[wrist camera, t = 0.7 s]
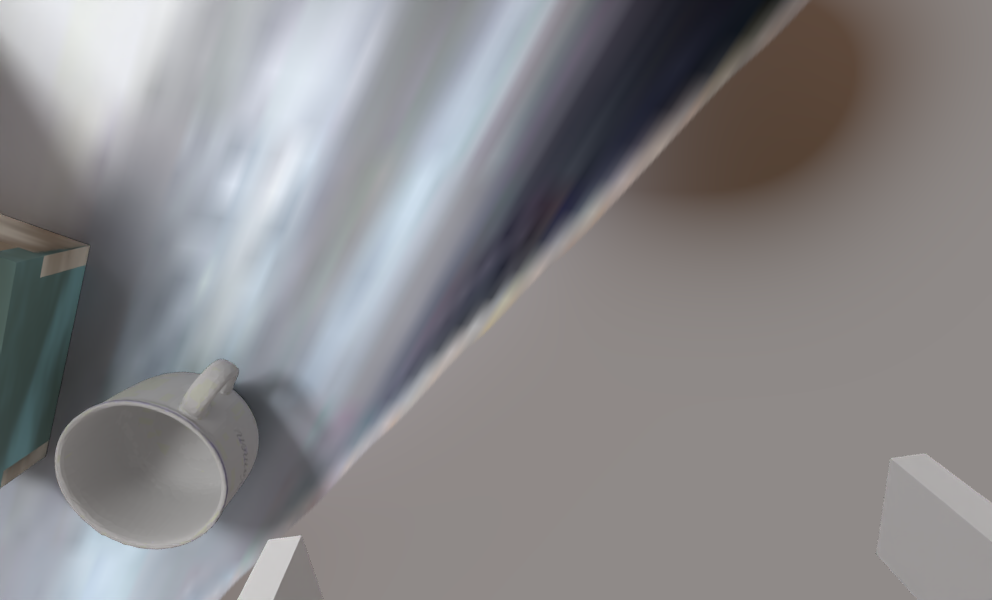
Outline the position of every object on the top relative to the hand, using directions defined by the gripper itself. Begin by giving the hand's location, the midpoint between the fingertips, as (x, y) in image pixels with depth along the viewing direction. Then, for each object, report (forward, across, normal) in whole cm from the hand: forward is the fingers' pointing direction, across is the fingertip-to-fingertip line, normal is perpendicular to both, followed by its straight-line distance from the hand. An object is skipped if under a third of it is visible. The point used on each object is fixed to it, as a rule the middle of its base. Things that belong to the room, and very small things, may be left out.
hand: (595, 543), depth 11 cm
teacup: (+26, -25, -8) cm, 37 cm away
